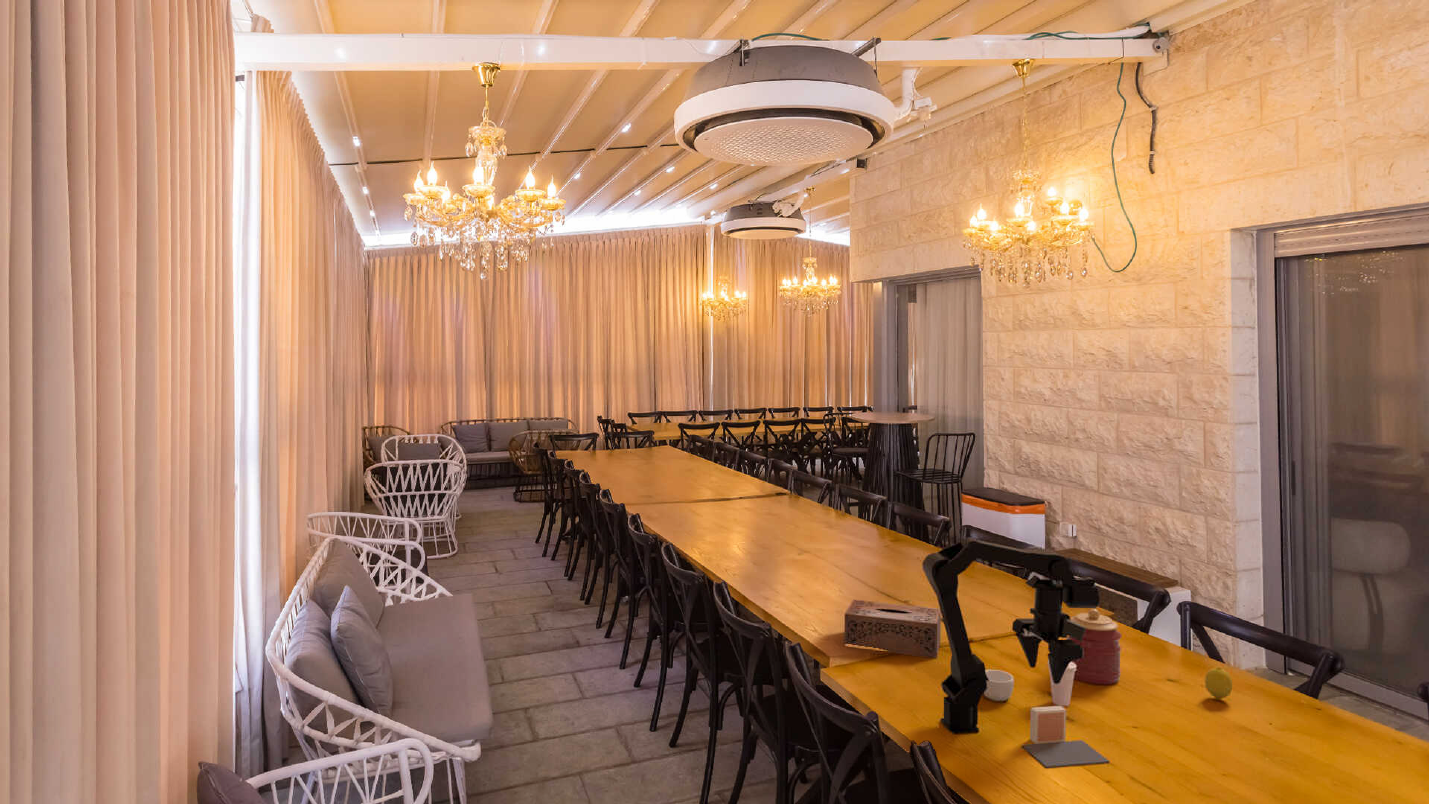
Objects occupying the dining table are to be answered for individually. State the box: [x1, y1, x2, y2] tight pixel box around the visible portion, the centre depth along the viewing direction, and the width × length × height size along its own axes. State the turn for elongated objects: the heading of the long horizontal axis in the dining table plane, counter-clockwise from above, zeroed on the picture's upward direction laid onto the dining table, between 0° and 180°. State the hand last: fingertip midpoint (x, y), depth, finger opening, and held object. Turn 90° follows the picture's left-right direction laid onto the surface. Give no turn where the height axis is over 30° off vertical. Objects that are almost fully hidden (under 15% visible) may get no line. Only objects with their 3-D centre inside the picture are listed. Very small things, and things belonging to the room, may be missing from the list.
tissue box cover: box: [843, 599, 942, 659], centre depth 226 cm, size 26×14×10 cm, turn 70°
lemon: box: [1204, 666, 1233, 700], centre depth 188 cm, size 6×6×8 cm
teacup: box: [983, 669, 1015, 702], centre depth 190 cm, size 10×8×5 cm
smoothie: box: [1047, 660, 1076, 707], centre depth 186 cm, size 6×6×14 cm
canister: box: [1065, 608, 1122, 685], centre depth 203 cm, size 13×13×18 cm
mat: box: [1021, 739, 1110, 769], centre depth 162 cm, size 14×9×1 cm, turn 99°
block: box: [1029, 705, 1067, 744], centre depth 167 cm, size 7×2×7 cm, turn 99°
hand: (1044, 675), depth 174 cm, fingers open, 9 cm apart
